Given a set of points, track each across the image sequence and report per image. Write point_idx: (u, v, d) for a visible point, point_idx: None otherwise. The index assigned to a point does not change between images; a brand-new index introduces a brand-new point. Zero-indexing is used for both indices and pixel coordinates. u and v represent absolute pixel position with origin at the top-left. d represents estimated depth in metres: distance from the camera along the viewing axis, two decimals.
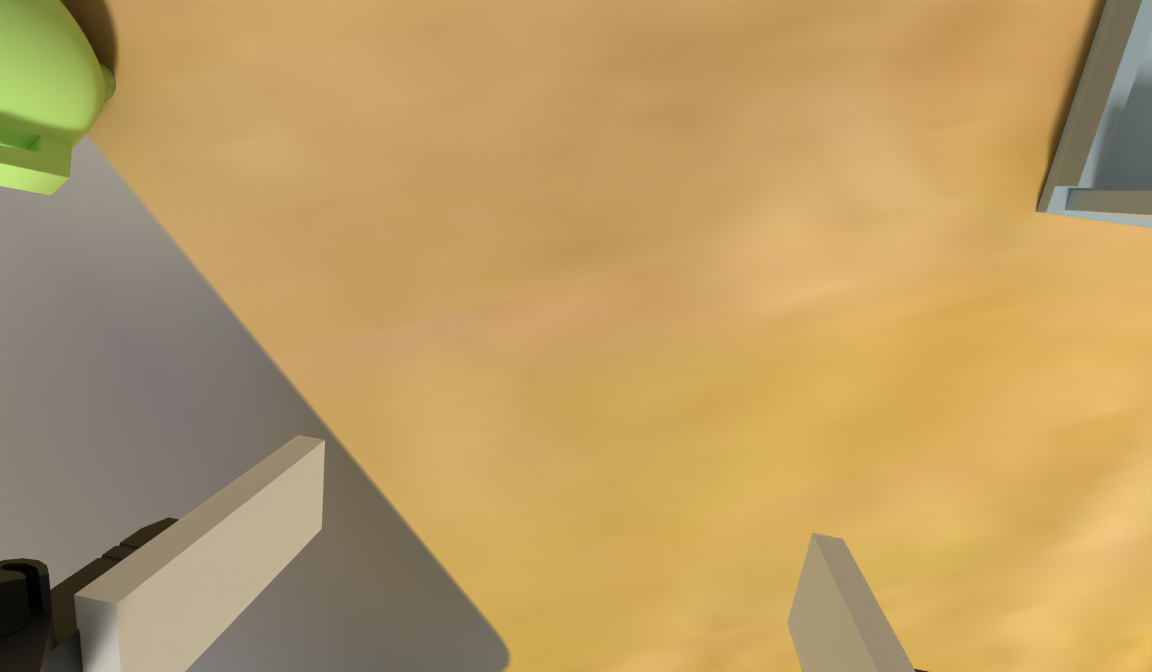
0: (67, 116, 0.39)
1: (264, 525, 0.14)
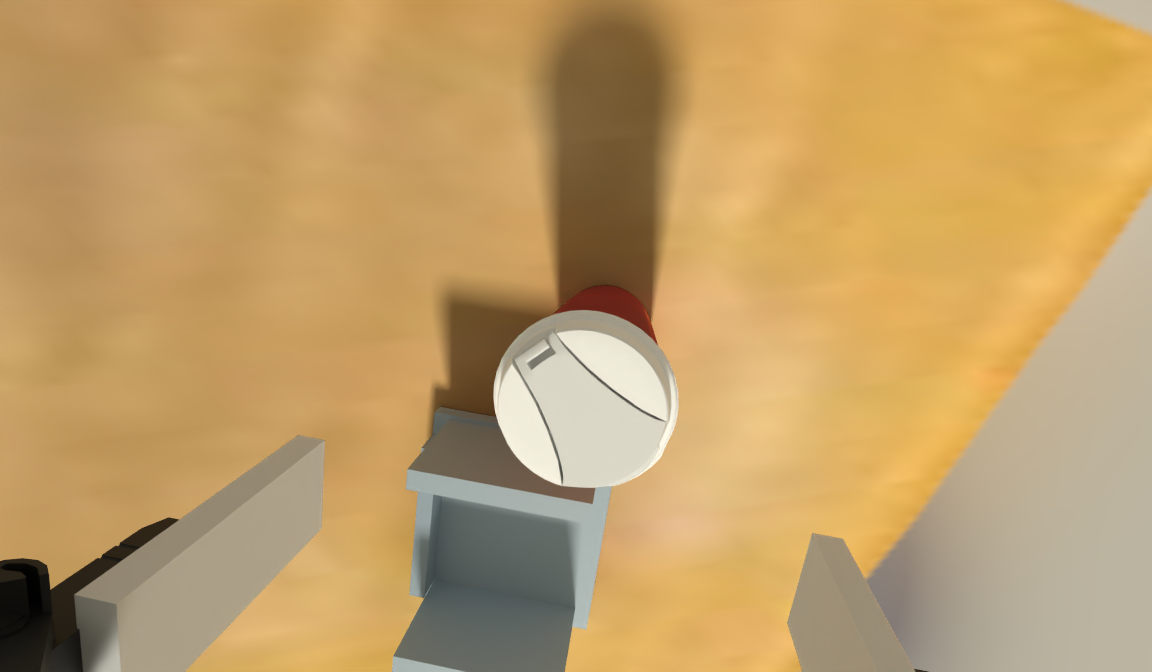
0: None
1: (264, 525, 0.14)
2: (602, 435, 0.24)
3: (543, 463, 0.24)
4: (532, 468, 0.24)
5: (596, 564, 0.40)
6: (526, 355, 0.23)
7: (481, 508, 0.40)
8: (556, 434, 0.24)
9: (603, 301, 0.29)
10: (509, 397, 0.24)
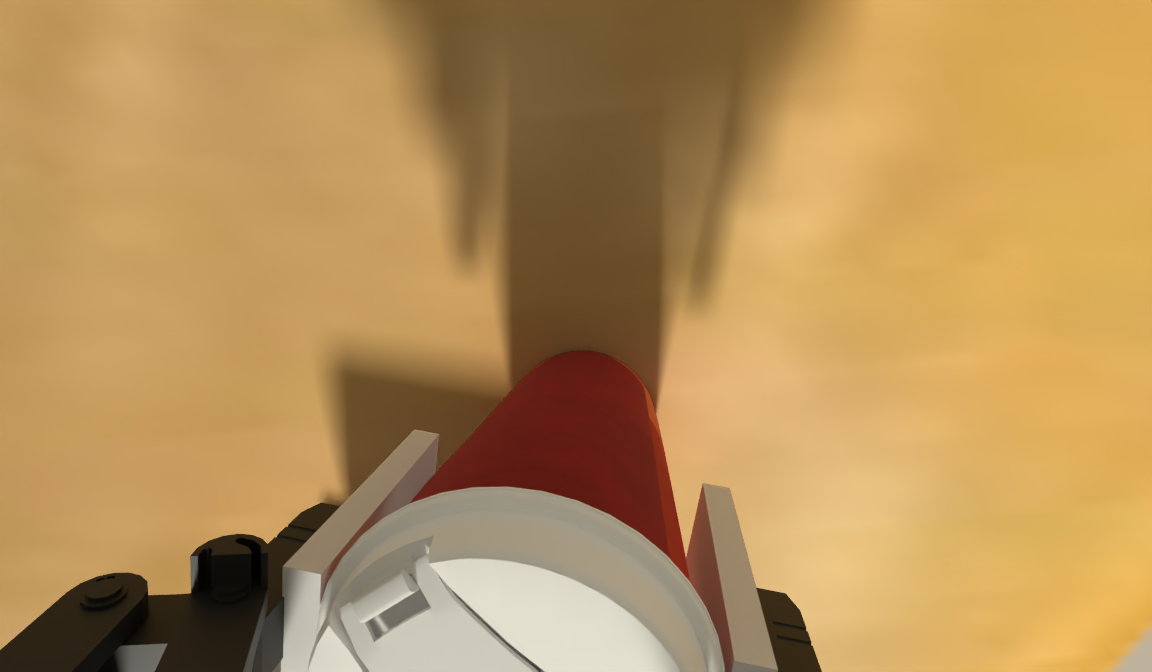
0: None
1: None
2: None
3: None
4: None
5: None
6: (360, 609, 0.10)
7: None
8: None
9: (568, 413, 0.15)
10: None
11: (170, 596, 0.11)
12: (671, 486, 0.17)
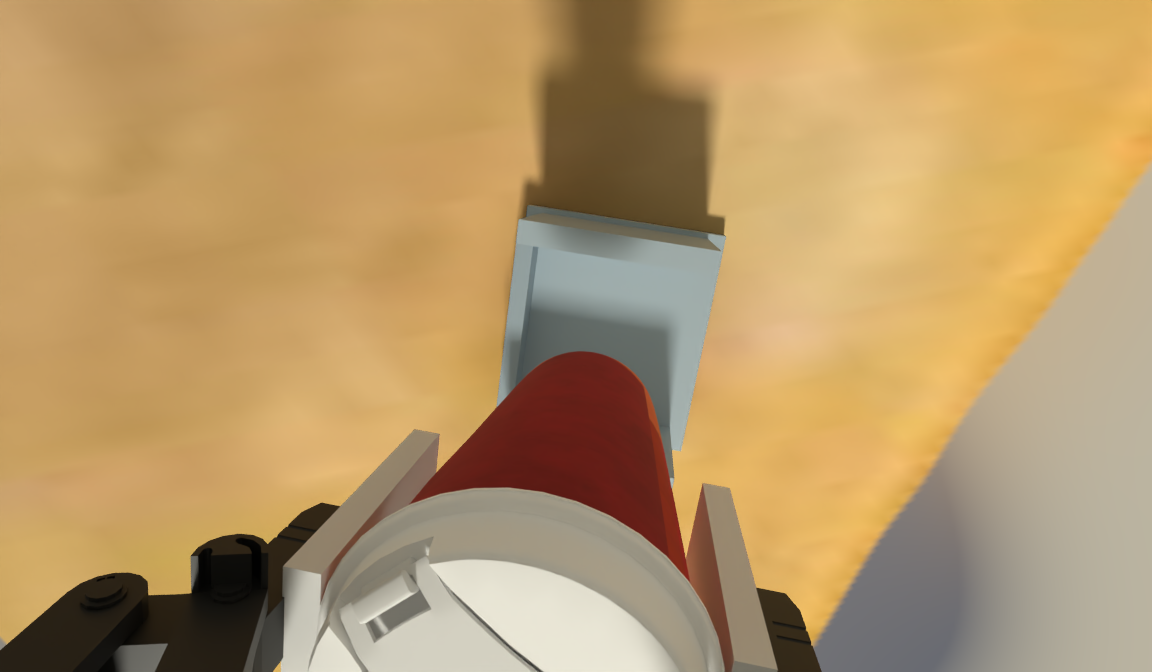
0: None
1: None
2: None
3: None
4: None
5: (695, 375, 0.38)
6: (361, 610, 0.10)
7: (572, 315, 0.38)
8: None
9: (568, 414, 0.15)
10: None
11: (170, 596, 0.11)
12: (671, 487, 0.17)
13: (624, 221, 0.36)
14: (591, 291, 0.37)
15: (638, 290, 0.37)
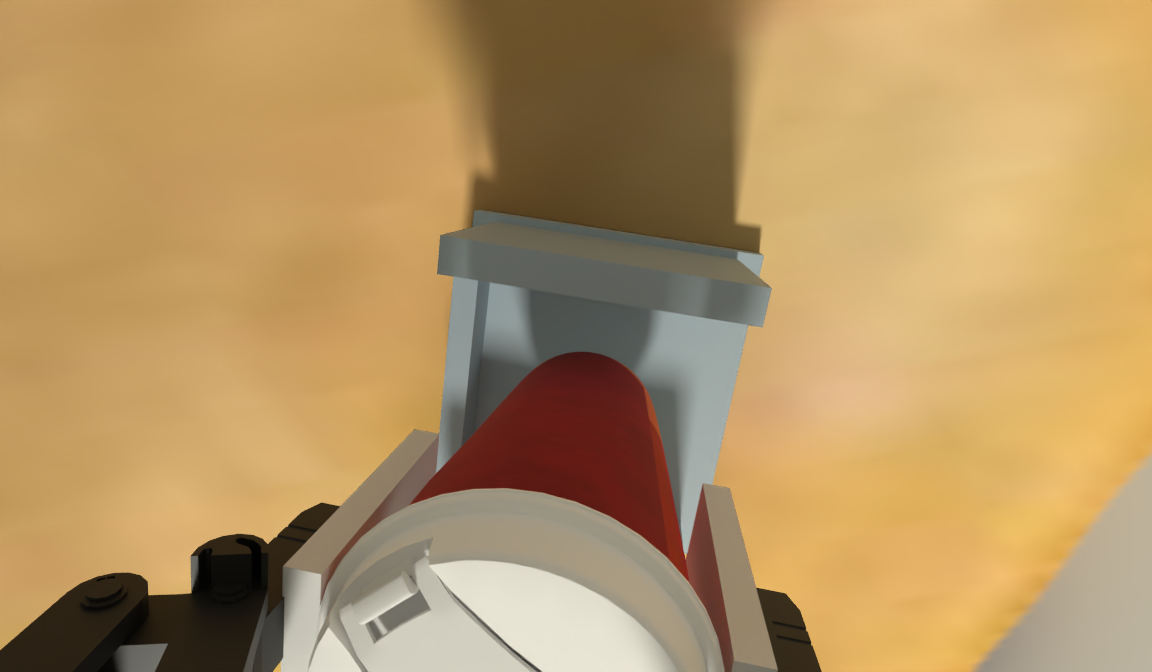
0: None
1: None
2: None
3: None
4: None
5: (717, 452, 0.26)
6: (361, 610, 0.10)
7: None
8: None
9: (568, 415, 0.15)
10: None
11: (170, 596, 0.11)
12: None
13: (614, 233, 0.25)
14: (567, 333, 0.26)
15: (636, 332, 0.25)
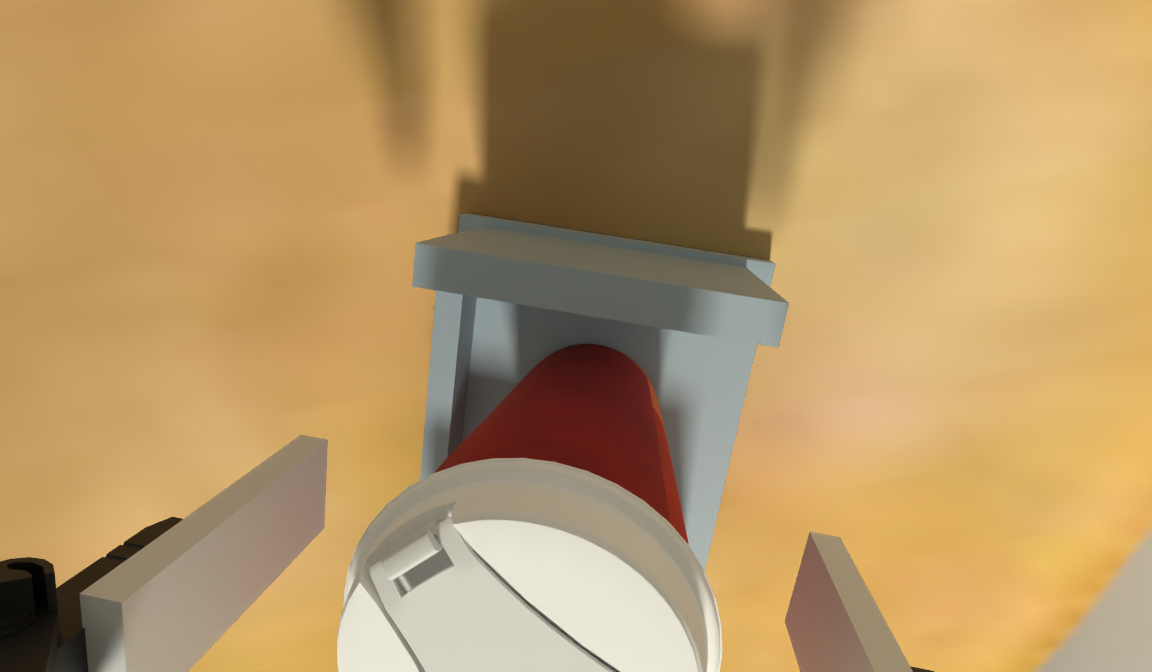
0: None
1: (267, 524, 0.14)
2: None
3: None
4: None
5: (723, 476, 0.24)
6: (389, 566, 0.10)
7: None
8: None
9: (576, 398, 0.16)
10: (359, 647, 0.11)
11: None
12: None
13: (612, 239, 0.23)
14: (561, 348, 0.24)
15: (636, 346, 0.23)
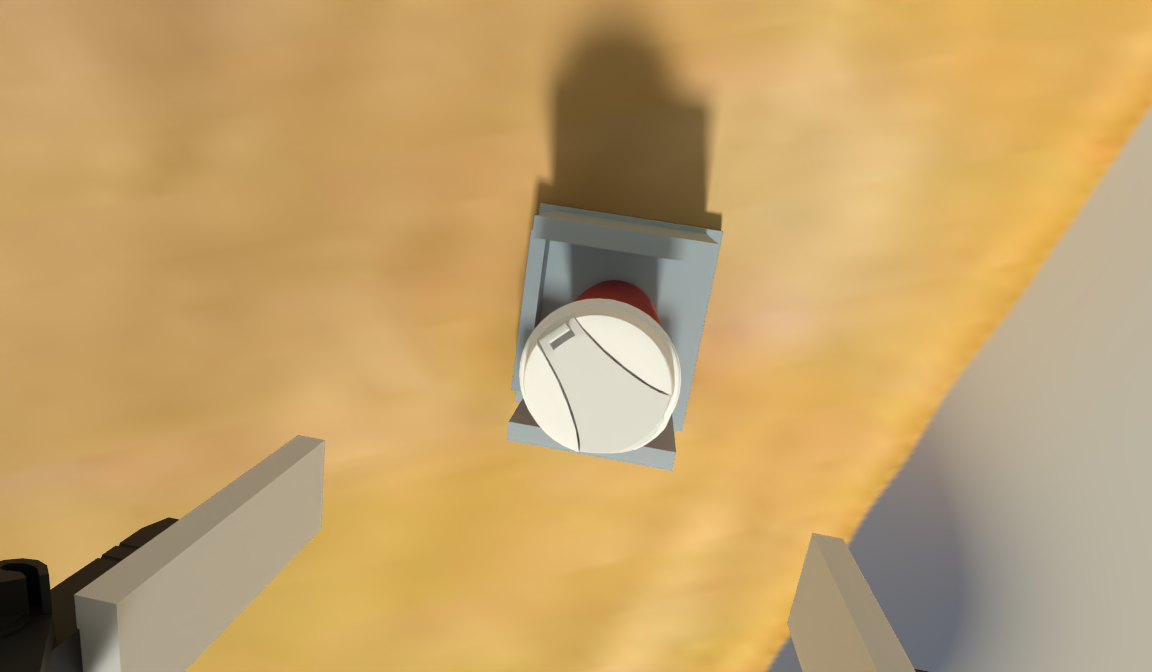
0: None
1: (264, 525, 0.14)
2: (615, 406, 0.27)
3: (563, 431, 0.28)
4: (553, 436, 0.28)
5: (695, 360, 0.41)
6: (549, 337, 0.27)
7: None
8: (574, 406, 0.27)
9: (614, 292, 0.32)
10: (534, 373, 0.27)
11: None
12: None
13: (629, 218, 0.39)
14: (598, 282, 0.40)
15: (642, 281, 0.40)
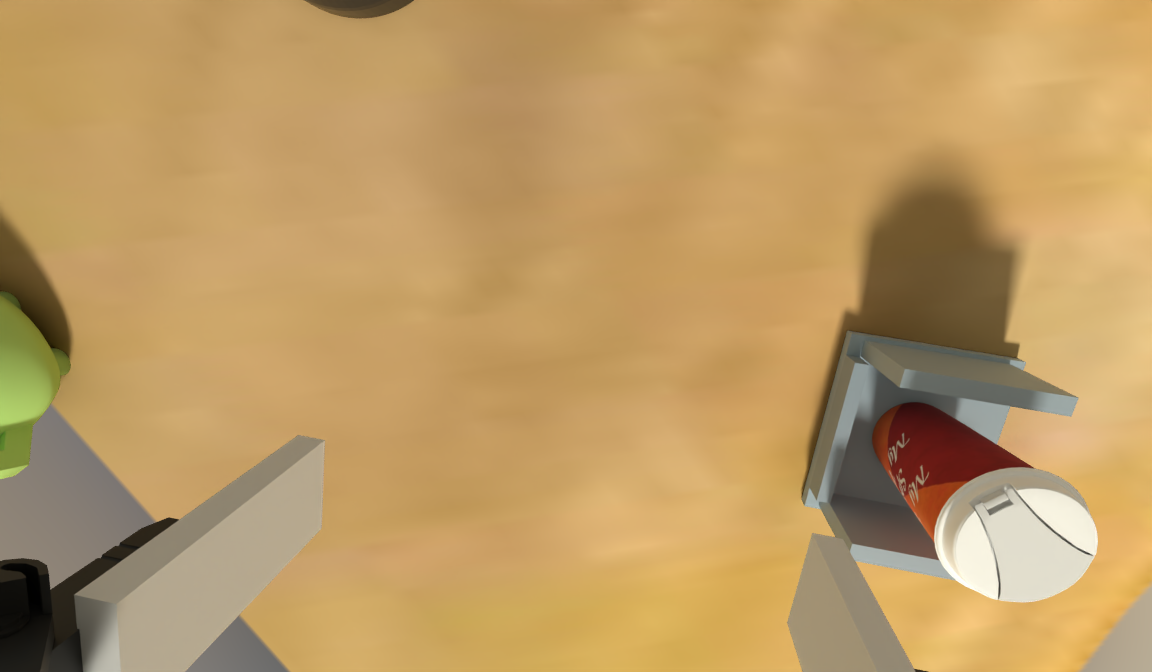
0: (27, 414, 0.48)
1: (264, 525, 0.14)
2: (1040, 564, 0.31)
3: (986, 583, 0.32)
4: (976, 586, 0.32)
5: None
6: (989, 505, 0.30)
7: None
8: (1001, 562, 0.31)
9: (980, 439, 0.36)
10: (967, 534, 0.31)
11: None
12: None
13: (936, 348, 0.42)
14: (899, 404, 0.44)
15: (942, 403, 0.43)
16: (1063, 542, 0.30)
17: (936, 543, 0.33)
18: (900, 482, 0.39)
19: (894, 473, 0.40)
